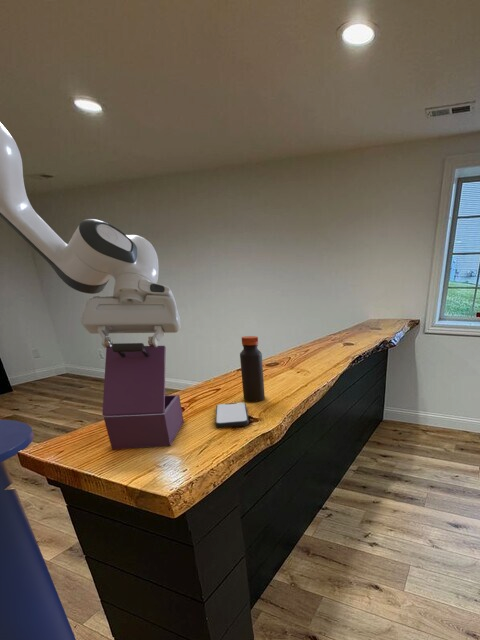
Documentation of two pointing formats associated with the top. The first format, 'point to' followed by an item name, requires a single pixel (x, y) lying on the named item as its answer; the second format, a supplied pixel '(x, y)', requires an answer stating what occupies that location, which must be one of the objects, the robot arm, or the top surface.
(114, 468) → the top surface
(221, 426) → the smartphone
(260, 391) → the bottle
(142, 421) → the purple box
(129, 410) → the lid
